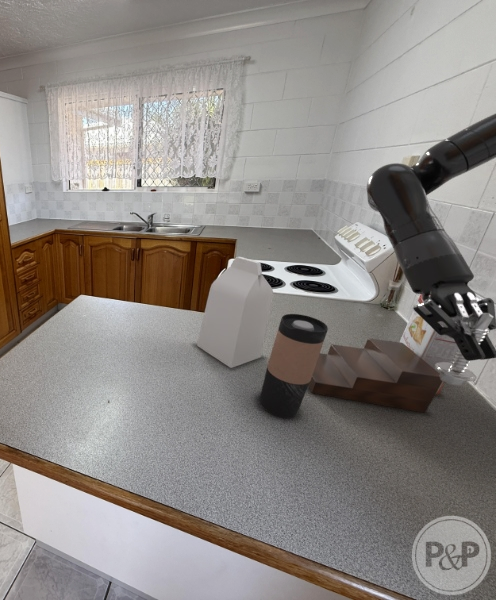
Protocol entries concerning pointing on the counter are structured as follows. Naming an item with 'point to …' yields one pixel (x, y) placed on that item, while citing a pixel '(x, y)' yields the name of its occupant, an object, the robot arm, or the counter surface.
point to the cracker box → (428, 342)
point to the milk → (237, 314)
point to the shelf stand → (376, 375)
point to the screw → (457, 369)
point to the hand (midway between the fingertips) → (482, 358)
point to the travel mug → (292, 364)
